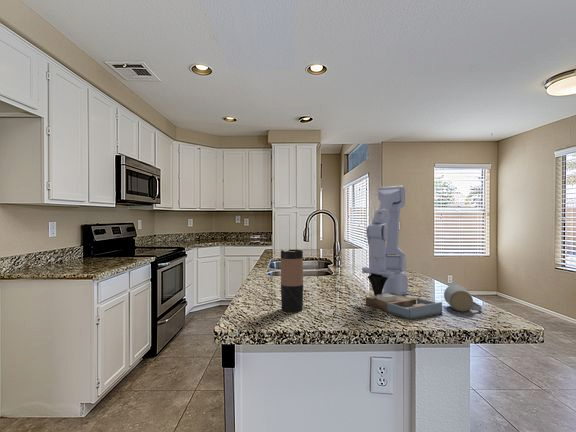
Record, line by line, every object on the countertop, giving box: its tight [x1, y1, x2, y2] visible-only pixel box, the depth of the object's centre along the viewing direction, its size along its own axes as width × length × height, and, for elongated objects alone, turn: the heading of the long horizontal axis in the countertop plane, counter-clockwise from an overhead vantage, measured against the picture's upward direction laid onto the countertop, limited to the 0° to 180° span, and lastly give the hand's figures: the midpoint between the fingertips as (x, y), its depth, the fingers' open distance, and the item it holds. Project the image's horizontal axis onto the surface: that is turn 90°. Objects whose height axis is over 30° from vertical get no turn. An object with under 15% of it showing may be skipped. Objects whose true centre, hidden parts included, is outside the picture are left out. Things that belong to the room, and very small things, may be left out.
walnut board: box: [365, 293, 417, 312], centre depth 115 cm, size 13×11×2 cm
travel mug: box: [280, 249, 304, 313], centre depth 111 cm, size 8×8×20 cm
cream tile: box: [377, 293, 396, 302], centre depth 113 cm, size 4×4×2 cm
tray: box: [386, 297, 443, 320], centre depth 106 cm, size 14×9×4 cm, turn 117°
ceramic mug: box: [443, 284, 483, 313], centre depth 109 cm, size 11×8×8 cm
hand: (377, 295), depth 117 cm, fingers closed
